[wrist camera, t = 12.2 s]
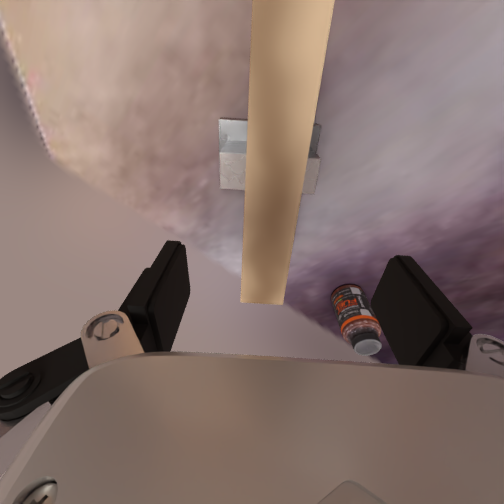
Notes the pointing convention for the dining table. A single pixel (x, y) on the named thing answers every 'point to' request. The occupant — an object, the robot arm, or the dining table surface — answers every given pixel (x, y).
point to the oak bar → (279, 135)
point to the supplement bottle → (356, 319)
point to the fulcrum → (235, 155)
